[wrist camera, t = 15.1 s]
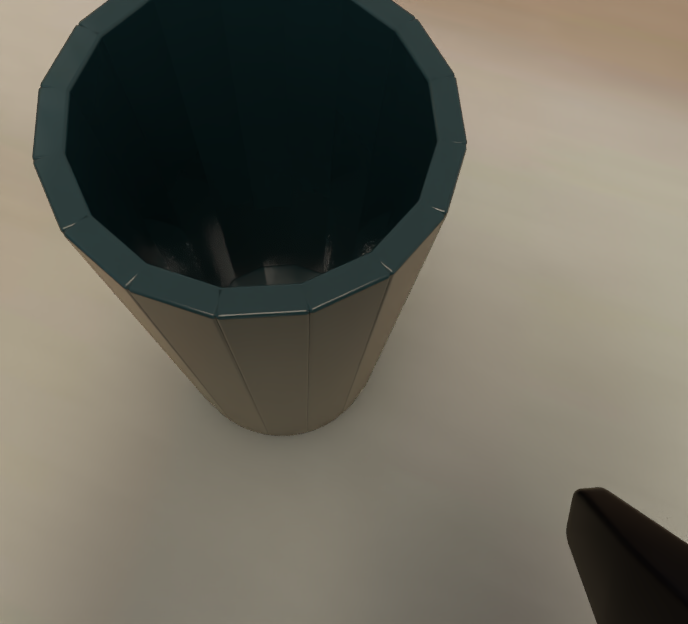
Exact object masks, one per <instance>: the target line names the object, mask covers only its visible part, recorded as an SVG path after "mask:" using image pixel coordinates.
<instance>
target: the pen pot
mask: <svg viewBox="0 0 688 624" xmlns="http://www.w3.org/2000/svg"><path fill="white" fill-rule="evenodd" d="M40 86H41V88H39V92H38V103H37V113H36V124H35V135H34V145H33V156H32V158H33V164H34V167H35V170H36V172H37V175H38V177H39V179H40V182H41V184H42V187H43V189H44V192H45V194H46V197H47V199H48V201H49V204H50V206H51V209H52V211H53V214H54V216H55V219H56V221H57V223H58V226H59V228H60V231H61V232H62V233H63V234H64V236H65V238H66V239H67V240H68V241H69V242H70V243H71V244H72V246H73V247H74V248H75V249H76V250H77V251H78V252H79V254H80V255H81V256H82V257H83V258H84V259H85V261H86V262H87V263H88V264H89V265H90V266H91V267H92V269H93V270H94V271H95V272H96V273H97V274H98V275H99V277H100V278H101V279H102V280H103V281H104V282H105V284H106V285H107V286H108V287H109V288H110V289H111V290H112V292H113V293H114V294H115V295H116V296H117V297H118V298H119V300H120V301H121V302H122V303H123V304H124V305H125V307H126V308H127V309H128V310H129V311H130V312H131V313H132V315H133V316H134V317H135V318H136V319H137V320H138V321H139V323H140V324H141V325H142V326H143V327H144V328H145V329H146V331H147V332H148V333H149V334H150V335H151V336H152V338H153V339H154V340H155V341H156V342H157V343H158V344H159V346H160V347H161V348H162V349H163V350H164V351H165V352H166V354H167V355H168V356H169V357H170V358H171V359H172V361H173V362H174V363H175V364H176V365H177V366H178V367H179V369H180V370H181V371H182V372H183V373H184V374H185V375H186V377H187V378H188V379H189V380H190V381H191V382H192V384H193V385H194V386H195V387H196V388H197V389H198V390H199V392H200V393H201V394H202V395H203V396H204V397H205V398H206V399H207V400H208V401H209V402H210V403H211V404H212V405H214V406H215V408H216V409H217V410H218V411H219V412H220V413H221V414H223V415H224V416H225V417H227V418H228V419H229V420H230V421H232V422H234V423H236V424H237V425H239V426H241V427H243V428H246V429H248V430H250V431H253V432H257V433H261V434H266V435H274V436H290V435H297V434H303V433H306V432H310V431H313V430H316V429H318V428H320V427H323V426H325V425H326V424H328V423H330V422H331V421H333V420H335V419H336V418H337V417H339V416H340V415H341V414H342V413H344V412H345V411H346V410H347V409H348V408H349V407H350V406H351V405H352V404H353V402H354V401H355V399H356V398H357V397H358V395H359V394H360V392H361V391H362V390H363V389H364V387H365V386H366V384H367V382H368V380H369V378H370V376H371V374H372V372H373V370H374V367H375V365H376V363H377V361H378V359H379V357H380V355H381V353H382V351H383V348H384V346H385V344H386V342H387V340H388V338H389V336H390V334H391V332H392V329H393V327H394V325H395V323H396V321H397V319H398V317H399V315H400V313H401V310H402V308H403V306H404V304H405V302H406V300H407V298H408V296H409V294H410V291H411V289H412V287H413V285H414V283H415V281H416V279H417V277H418V275H419V272H420V270H421V268H422V266H423V264H424V262H425V260H426V258H427V256H428V254H429V251H430V249H431V247H432V245H433V243H434V241H435V239H436V237H437V235H438V232H439V230H440V228H441V226H442V224H443V222H444V220H445V218H446V216H447V213H448V210H449V207H450V203H451V200H452V197H453V193H454V190H455V187H456V183H457V180H458V176H459V173H460V170H461V166H462V163H463V160H464V156H465V153H466V144H467V140H466V134H465V128H464V122H463V116H462V110H461V105H460V99H459V93H458V87H457V81H456V78H455V76H454V73H453V71H452V70H451V68H450V67H449V65H448V64H447V62H446V61H445V59H444V58H443V56H442V55H441V53H440V52H439V50H438V49H437V47H436V46H435V44H434V43H433V41H432V40H431V38H430V37H429V35H428V34H427V32H426V31H425V29H424V28H423V26H422V25H421V23H420V22H419V20H418V19H415V17H414V16H413V15H412V14H411V13H409V12H408V11H406V10H405V9H403V8H402V7H401V6H399V5H398V4H396V3H395V2H393V1H392V0H108V1H107V2H105V3H104V4H103V5H101V6H100V7H99V8H97V9H96V10H95V11H93V12H92V13H91V14H89V15H88V16H86V17H85V18H84V19H82V20H81V21H80V22H79V25H76V26H75V28H74V29H73V31H72V33H71V34H70V36H69V38H68V39H67V41H66V43H65V44H64V46H63V48H62V49H61V51H60V53H59V54H58V56H57V58H56V59H55V61H54V62H53V64H52V66H51V67H50V69H49V71H48V72H47V74H46V76H45V77H44V79H43V81H42V82H41V85H40Z"/></svg>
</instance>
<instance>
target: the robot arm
mask: <svg viewBox="0 0 688 624" xmlns="http://www.w3.org/2000/svg"><path fill="white" fill-rule="evenodd" d="M566 534H567V540H568V544H569V547H570V550H571V553H572V555H573V558H574V561H575V564H576V566H577V569H578V572H579V575H580V578H581V580H582V583H583V586H584V589H585V591H586V594H587V597H588V600H589V602H590V605H591V608H592V611H593V614H594V616H595V619H596V622H597V624H688V544H687V543H686V542H684V541H683V540H681V539H680V538H678V537H677V536H675V535H674V534H672V533H671V532H669V531H668V530H666V529H665V528H663V527H662V526H660V525H659V524H657V523H656V522H654V521H653V520H651V519H650V518H648V517H647V516H645V515H644V514H642V513H641V512H639V511H638V510H636V509H635V508H633V507H632V506H630V505H629V504H627V503H626V502H624V501H623V500H621V499H620V498H618V497H617V496H615V495H614V494H612V493H611V492H609V491H608V490H606V489H604V488H601V487H595V488H583V489H578V490H576V491H575V493H574V494H573V498H572V502H571V507H570V512H569V517H568V522H567V528H566Z"/></svg>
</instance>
